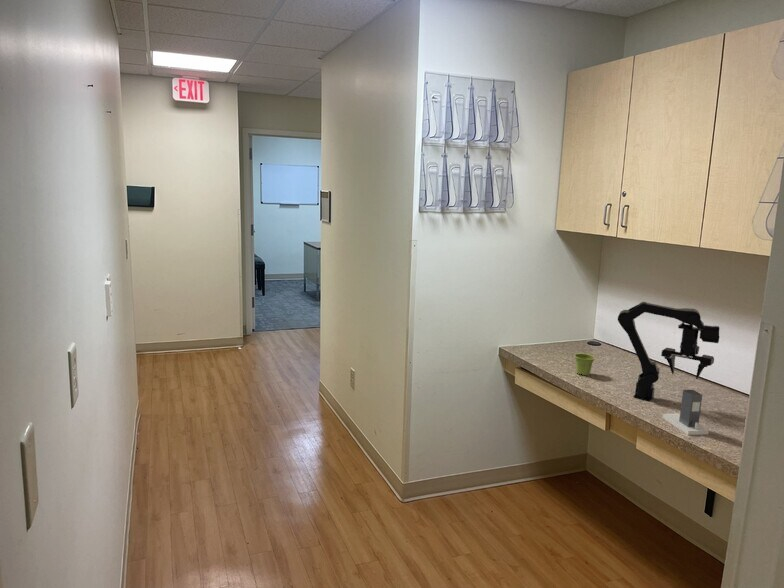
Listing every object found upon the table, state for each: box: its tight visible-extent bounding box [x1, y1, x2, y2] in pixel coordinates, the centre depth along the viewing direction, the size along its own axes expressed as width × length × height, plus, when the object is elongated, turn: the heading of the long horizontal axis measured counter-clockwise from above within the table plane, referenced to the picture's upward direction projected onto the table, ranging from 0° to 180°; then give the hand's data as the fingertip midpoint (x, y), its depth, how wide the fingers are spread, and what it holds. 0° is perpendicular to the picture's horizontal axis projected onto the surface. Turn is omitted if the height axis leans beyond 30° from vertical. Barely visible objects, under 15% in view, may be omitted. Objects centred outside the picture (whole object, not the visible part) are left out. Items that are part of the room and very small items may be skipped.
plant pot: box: [573, 353, 596, 376], centre depth 275 cm, size 9×9×9 cm
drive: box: [679, 389, 703, 427], centre depth 214 cm, size 6×4×12 cm
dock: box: [662, 412, 710, 436], centre depth 217 cm, size 16×8×4 cm, turn 7°
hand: (684, 376), depth 238 cm, fingers open, 9 cm apart
